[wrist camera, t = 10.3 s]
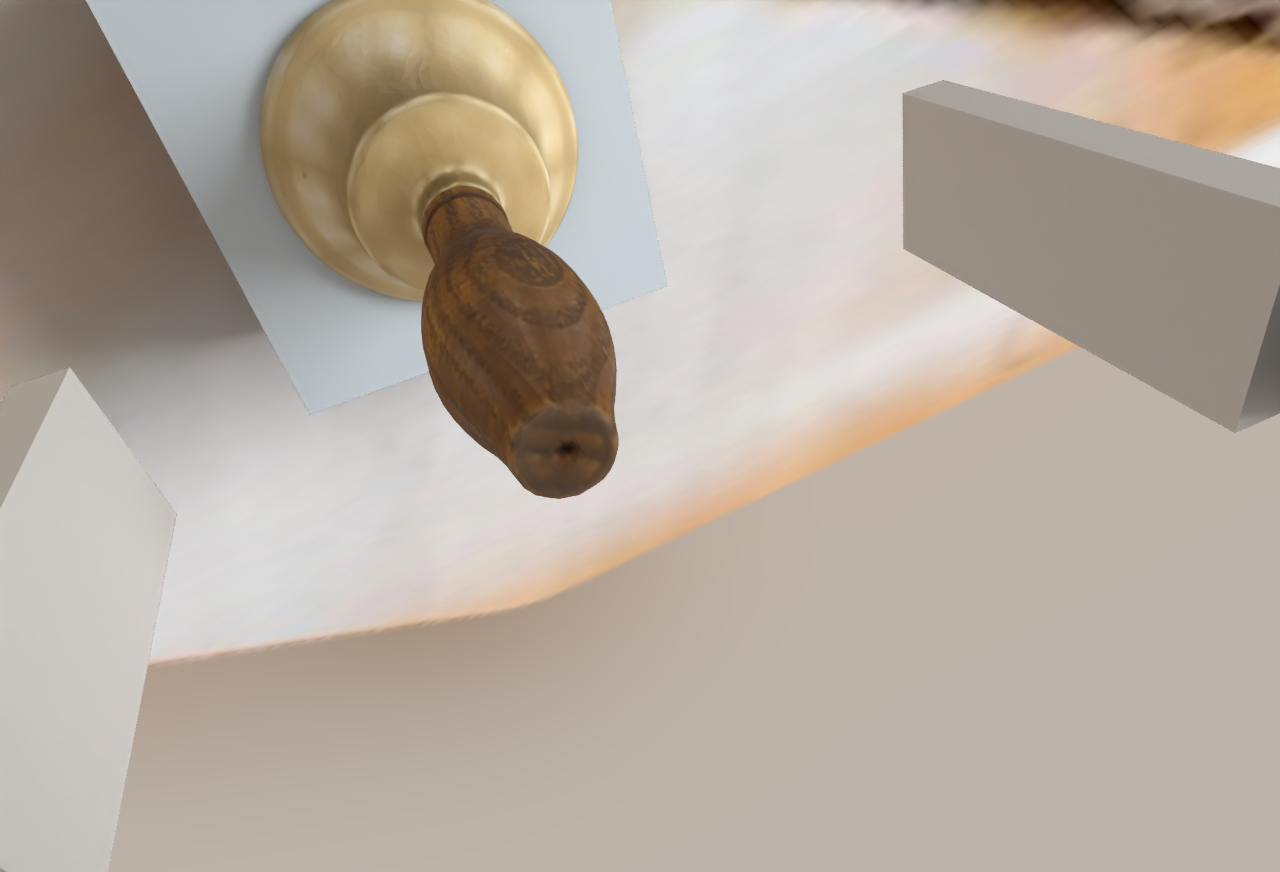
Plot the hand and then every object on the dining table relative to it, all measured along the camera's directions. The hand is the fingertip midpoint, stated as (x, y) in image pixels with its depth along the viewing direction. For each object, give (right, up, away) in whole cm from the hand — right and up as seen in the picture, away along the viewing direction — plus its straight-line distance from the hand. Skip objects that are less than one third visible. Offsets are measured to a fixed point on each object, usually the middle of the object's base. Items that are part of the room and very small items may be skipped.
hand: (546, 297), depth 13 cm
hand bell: (-4, +6, +9) cm, 12 cm away
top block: (-6, +8, +13) cm, 16 cm away
